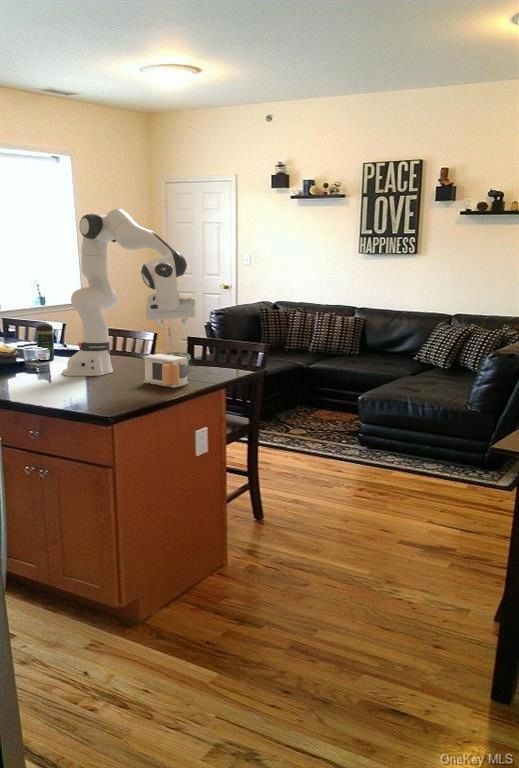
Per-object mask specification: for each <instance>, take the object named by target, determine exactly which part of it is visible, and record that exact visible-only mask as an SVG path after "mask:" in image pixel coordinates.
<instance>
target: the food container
mask: <svg viewBox="0 0 519 768" xmlns="http://www.w3.org/2000/svg"><path fill="white" fill-rule="evenodd" d="M165 355H172V356H180V357H187V367H188V370H189V367H190V360H191V359H192V357H191V354H190V353H188V352H182V351H181V352H180V351H175V352H172V351H171V352H167V353H166V354H165ZM187 377H189V373H188V374H187Z"/></svg>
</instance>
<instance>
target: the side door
mask: <svg viewBox="0 0 519 768" xmlns="http://www.w3.org/2000/svg"><path fill="white" fill-rule="evenodd" d="M168 384H170V385H176V386H178V387H180V386H179V365H175V364H169V363H163V365H162V385H168Z"/></svg>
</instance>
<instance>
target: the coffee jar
mask: <svg viewBox="0 0 519 768" xmlns="http://www.w3.org/2000/svg"><path fill="white" fill-rule="evenodd" d="M36 343H37V347H42V348H48V349H49V350H50V360H49V361H53V360H54V359H55V350H54V349H55V347H54V346H55V345H54V344H55V342H54V328H53V325H52V324H50V323H45V322H44V323H42V322H41V323H40V324H38V325H37V326H36Z"/></svg>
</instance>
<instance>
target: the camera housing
mask: <svg viewBox="0 0 519 768" xmlns="http://www.w3.org/2000/svg"><path fill="white" fill-rule="evenodd" d="M142 357H143V358H142V359H144V380H143V383H145V384H149V383H150V384H151V385H155V384H156V385H155V386H163V387H166V388H167V387H168V388H177V387H182V386H186V384H187V385H188V383H189V382H188V378H189V376H187V374H188V375H189V369H188V367H187V357H180V356H172V355H166V354H163V353H157V354H156V353H155V354H151V355H145V356H142ZM163 363H169V364H175V365H179V386H176V385H170V384H168V385H162V365H163Z"/></svg>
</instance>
